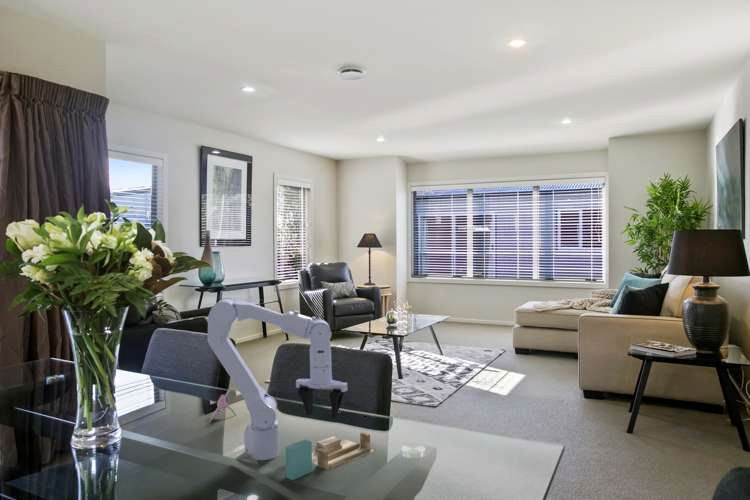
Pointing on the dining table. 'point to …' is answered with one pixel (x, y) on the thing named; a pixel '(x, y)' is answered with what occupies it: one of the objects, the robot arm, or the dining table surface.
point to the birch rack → (342, 453)
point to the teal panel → (298, 459)
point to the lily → (222, 404)
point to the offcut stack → (329, 444)
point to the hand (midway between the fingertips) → (322, 415)
